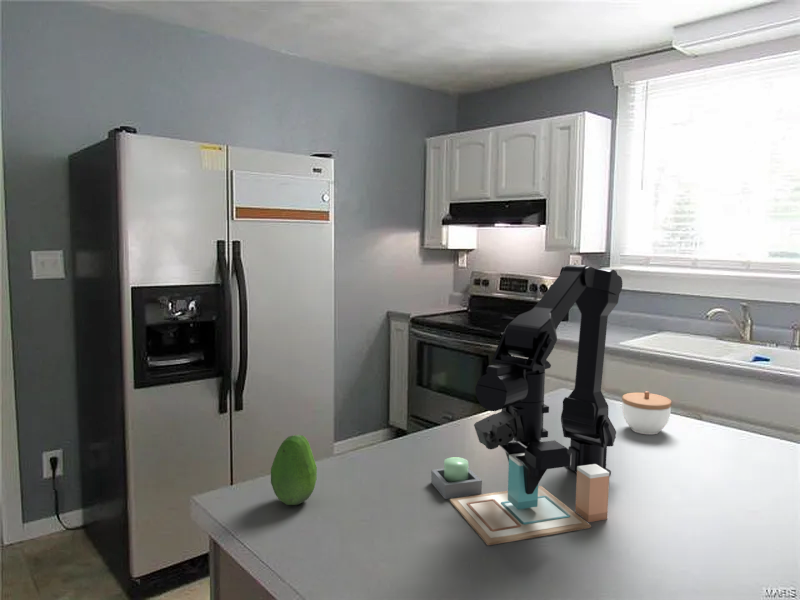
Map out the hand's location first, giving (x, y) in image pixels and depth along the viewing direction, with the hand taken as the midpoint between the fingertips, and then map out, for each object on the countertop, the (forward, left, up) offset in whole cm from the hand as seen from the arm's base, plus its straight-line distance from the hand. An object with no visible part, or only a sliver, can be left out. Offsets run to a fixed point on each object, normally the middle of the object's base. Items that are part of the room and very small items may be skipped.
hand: (523, 488), depth 97 cm
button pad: (+7, -11, -4) cm, 14 cm away
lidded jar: (-48, -27, -4) cm, 55 cm away
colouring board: (+1, +1, -4) cm, 4 cm away
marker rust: (-10, +5, -4) cm, 12 cm away
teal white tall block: (0, 0, -3) cm, 3 cm away
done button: (+7, -11, -2) cm, 14 cm away
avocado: (+36, -14, -4) cm, 39 cm away
